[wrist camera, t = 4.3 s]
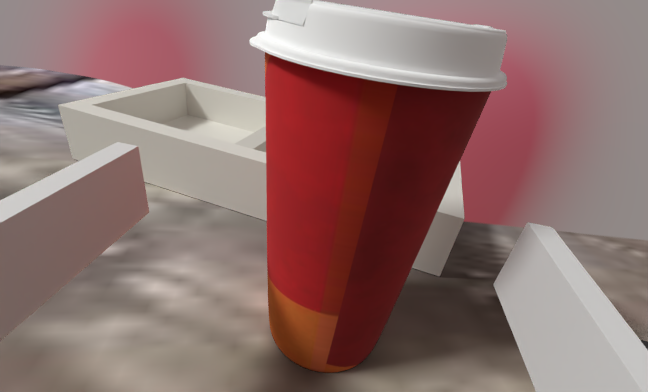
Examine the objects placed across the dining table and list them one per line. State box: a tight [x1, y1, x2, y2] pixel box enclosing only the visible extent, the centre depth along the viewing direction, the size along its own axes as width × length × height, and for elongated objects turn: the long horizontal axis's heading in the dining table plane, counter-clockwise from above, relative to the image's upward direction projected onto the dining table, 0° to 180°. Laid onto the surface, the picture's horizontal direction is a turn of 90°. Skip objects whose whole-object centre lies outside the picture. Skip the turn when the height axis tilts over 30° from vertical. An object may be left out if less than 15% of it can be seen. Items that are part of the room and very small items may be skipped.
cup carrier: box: [58, 78, 464, 277], centre depth 29 cm, size 30×14×4 cm, turn 71°
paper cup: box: [250, 0, 507, 373], centre depth 13 cm, size 8×8×14 cm
